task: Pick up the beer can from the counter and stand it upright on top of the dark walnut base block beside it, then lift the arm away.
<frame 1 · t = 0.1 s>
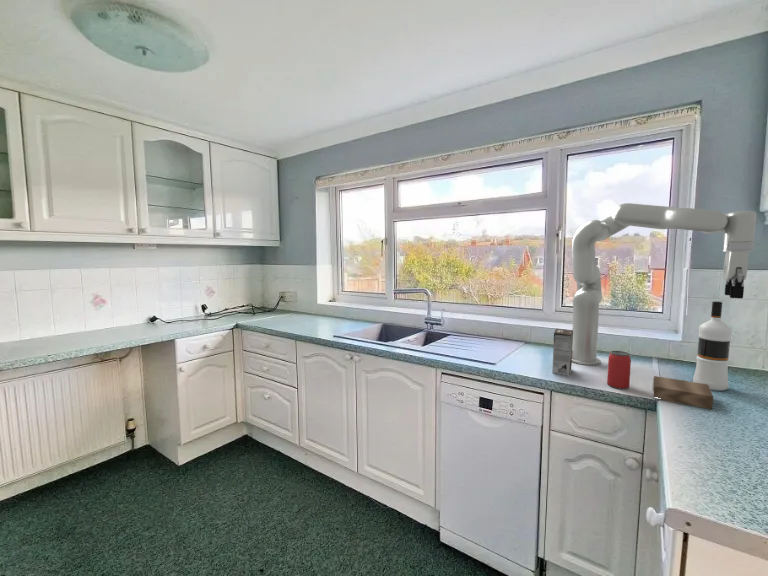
hand: (733, 296, 126), 31 cm above the worktop, tool pointing down, fingers open, 9 cm apart
walnut base: (680, 397, 116), on the worktop
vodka: (709, 387, 125), on the worktop
beer can: (617, 386, 126), on the worktop
coffee box: (561, 371, 142), on the worktop
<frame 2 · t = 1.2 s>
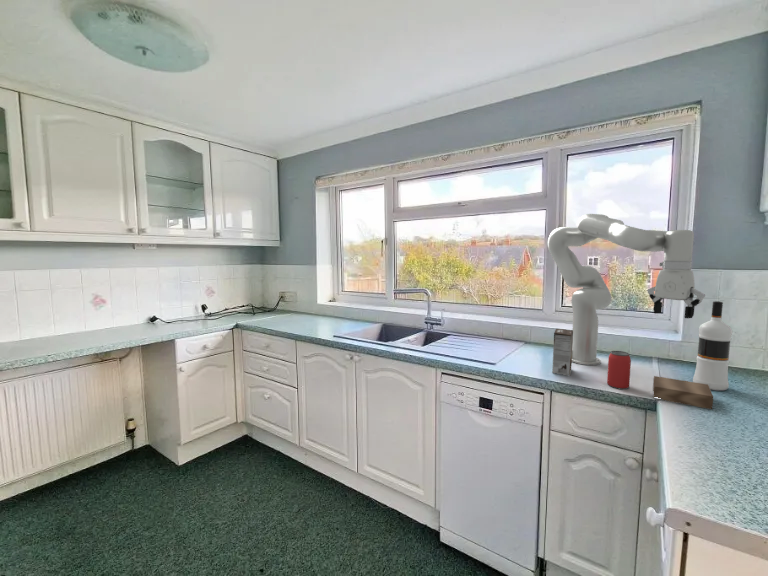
hand: (672, 315, 125), 25 cm above the worktop, tool pointing down, fingers open, 9 cm apart
nothing on the worktop moved.
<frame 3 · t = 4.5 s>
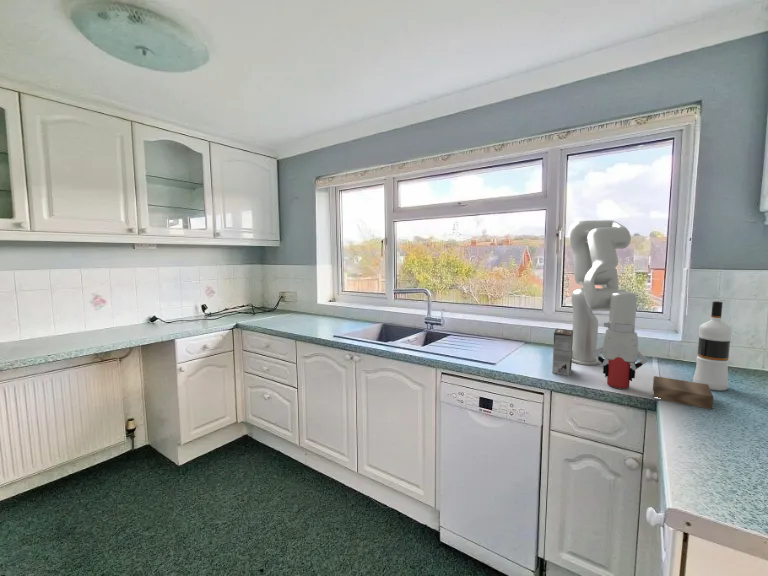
hand: (618, 377, 126), 3 cm above the worktop, tool pointing down, fingers closed on beer can, 6 cm apart
beer can: (617, 386, 126), on the worktop, touching gripper
everything else where it was.
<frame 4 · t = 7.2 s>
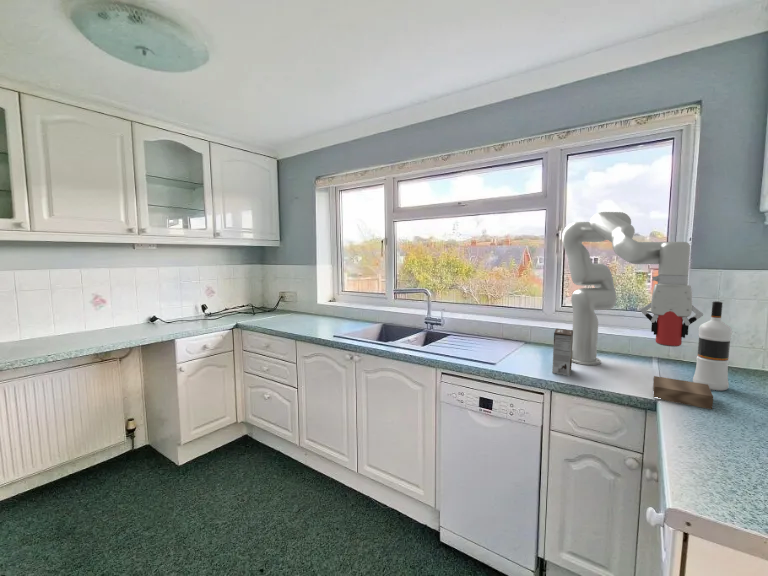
hand: (668, 335, 116), 20 cm above the worktop, tool pointing down, fingers closed on beer can, 6 cm apart
beer can: (668, 345, 117), point 17 cm above the worktop, touching gripper
everything else where it was.
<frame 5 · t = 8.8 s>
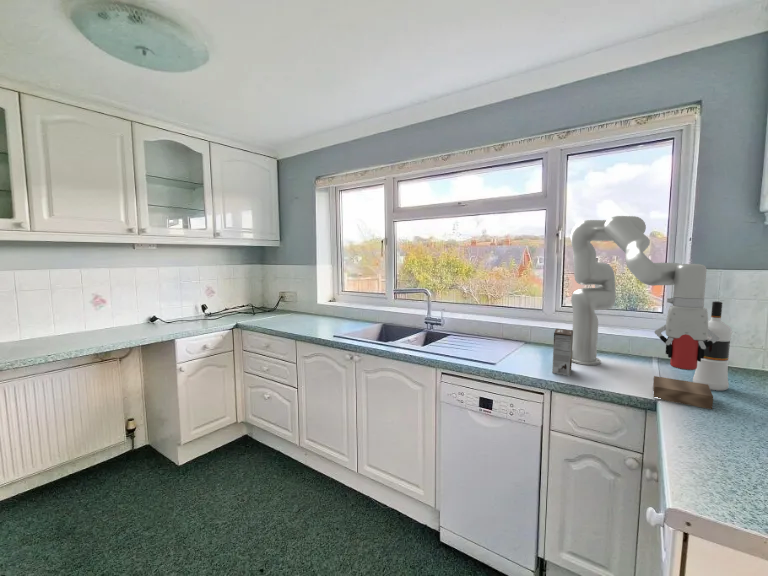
hand: (683, 358, 115), 13 cm above the worktop, tool pointing down, fingers closed on beer can, 6 cm apart
beer can: (683, 368, 115), point 10 cm above the worktop, touching gripper
everything else where it was.
when the fingers open (8 cm above the worktop, at t = 10.1 s): beer can drops 1 cm, resting on walnut base.
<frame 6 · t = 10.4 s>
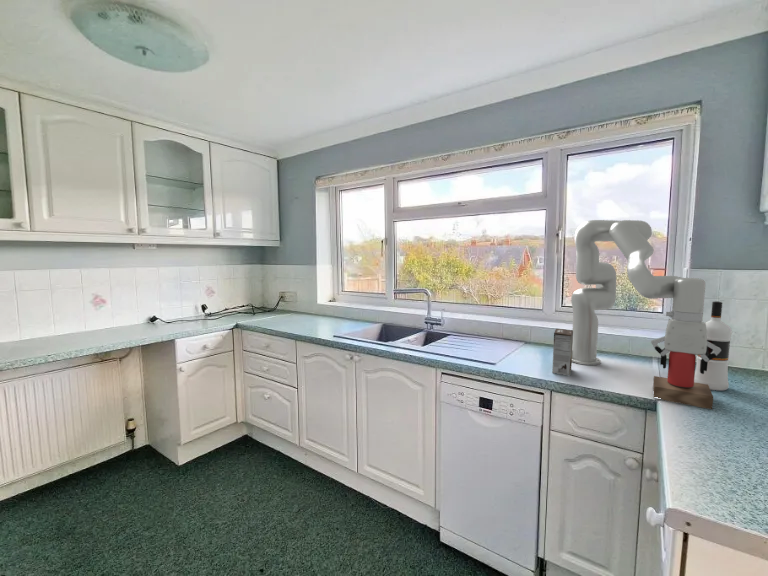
hand: (682, 369, 115), 9 cm above the worktop, tool pointing down, fingers open, 9 cm apart
beer can: (680, 385, 116), point 4 cm above the worktop, touching walnut base
everything else where it was.
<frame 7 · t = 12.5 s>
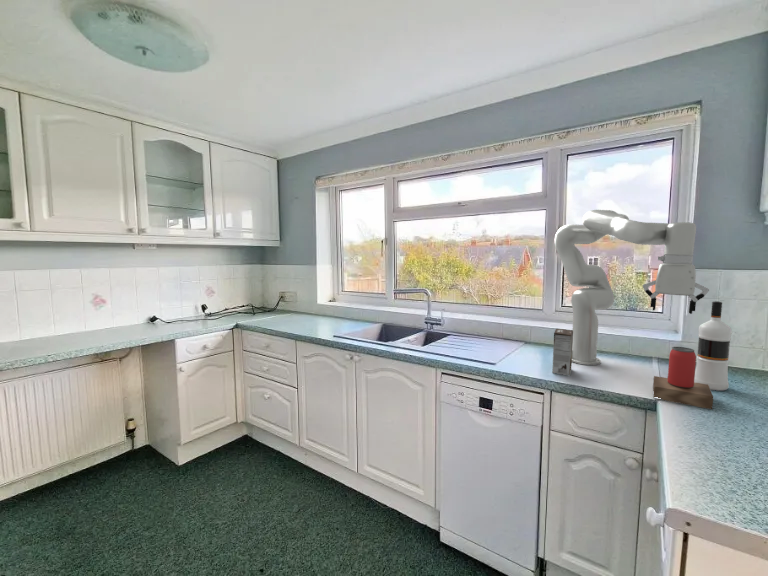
hand: (671, 311, 121), 27 cm above the worktop, tool pointing down, fingers open, 9 cm apart
nothing on the worktop moved.
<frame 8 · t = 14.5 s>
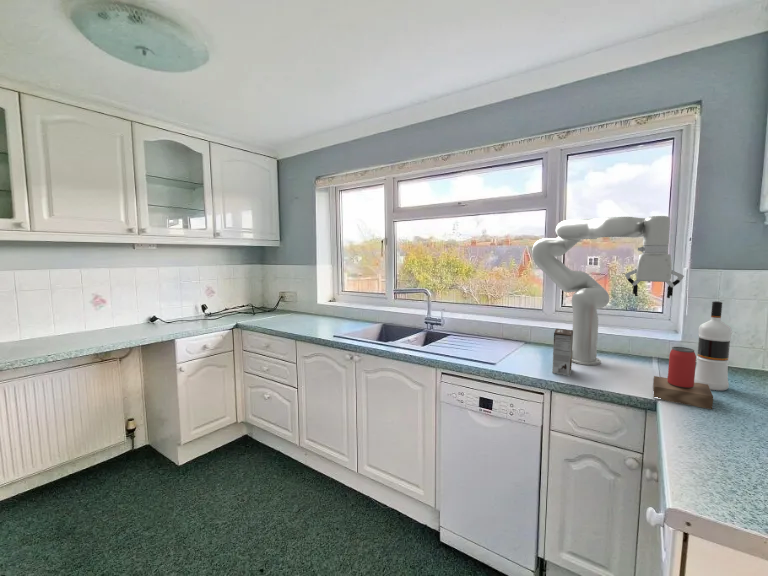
hand: (651, 296, 133), 30 cm above the worktop, tool pointing down, fingers open, 9 cm apart
nothing on the worktop moved.
at the end: beer can inside the target area on the walnut base (0.3 cm from its centre), point 3.8 cm above the walnut base's base; beer can tilted 0°; the gripper is holding nothing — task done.
